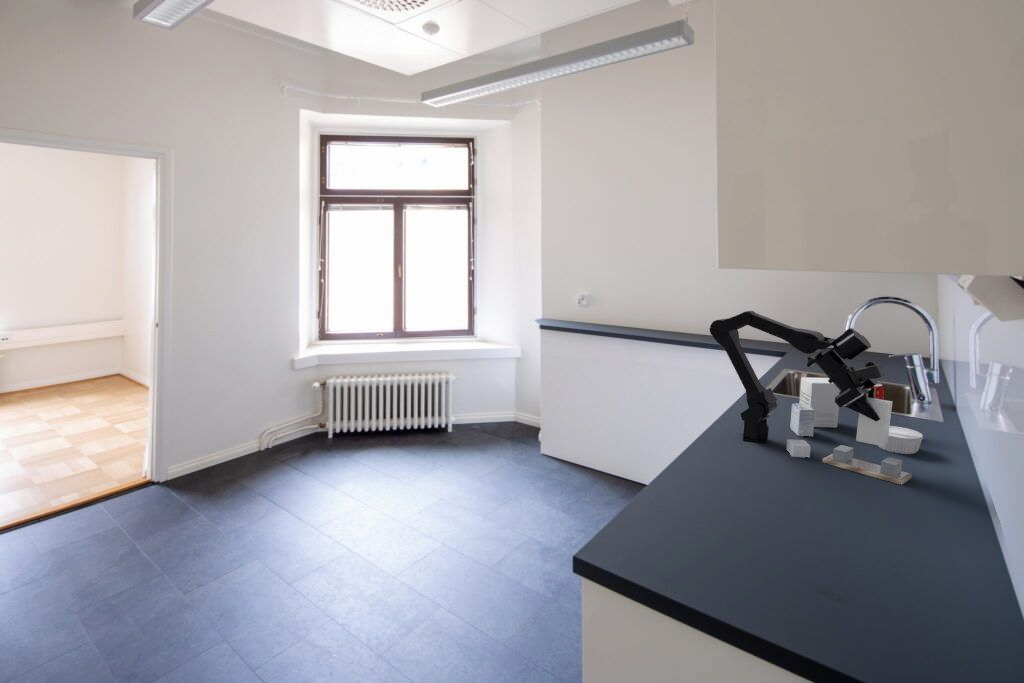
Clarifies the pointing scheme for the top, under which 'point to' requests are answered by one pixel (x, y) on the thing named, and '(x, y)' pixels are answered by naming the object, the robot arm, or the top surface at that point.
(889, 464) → the block
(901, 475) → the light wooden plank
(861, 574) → the top surface
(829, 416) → the supplement box
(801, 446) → the block
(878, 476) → the board
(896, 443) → the ramekin
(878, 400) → the block
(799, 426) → the medicine box
